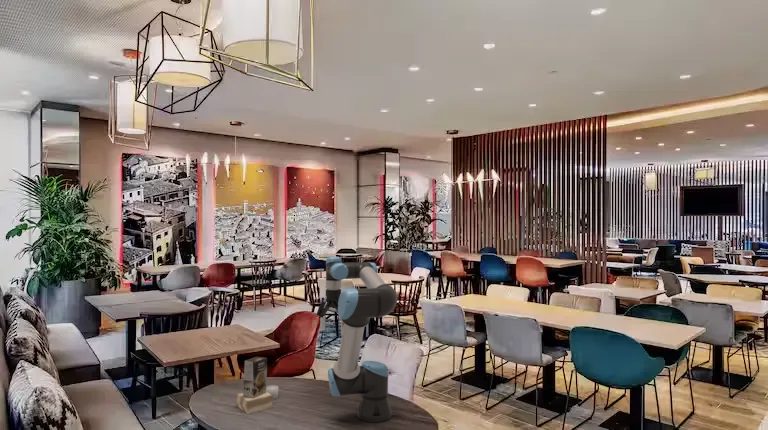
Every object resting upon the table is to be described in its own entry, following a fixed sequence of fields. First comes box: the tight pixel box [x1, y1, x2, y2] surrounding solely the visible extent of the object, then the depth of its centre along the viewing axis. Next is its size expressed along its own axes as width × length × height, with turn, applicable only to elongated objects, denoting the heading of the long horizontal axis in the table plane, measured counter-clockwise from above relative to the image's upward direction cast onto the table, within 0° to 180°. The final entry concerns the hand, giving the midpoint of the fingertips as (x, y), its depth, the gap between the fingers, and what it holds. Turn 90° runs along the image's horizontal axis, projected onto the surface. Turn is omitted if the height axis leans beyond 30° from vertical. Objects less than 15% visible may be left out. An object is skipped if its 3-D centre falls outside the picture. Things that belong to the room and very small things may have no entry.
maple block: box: [236, 391, 273, 415], centre depth 224 cm, size 12×12×6 cm
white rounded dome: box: [266, 384, 279, 401], centre depth 236 cm, size 6×6×5 cm
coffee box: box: [242, 356, 268, 398], centre depth 225 cm, size 9×6×16 cm
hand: (332, 332), depth 238 cm, fingers open, 13 cm apart
